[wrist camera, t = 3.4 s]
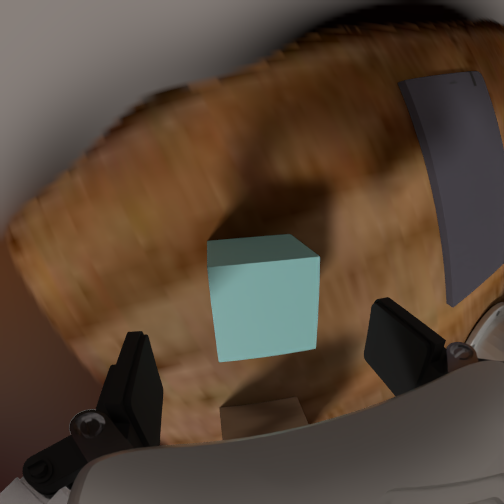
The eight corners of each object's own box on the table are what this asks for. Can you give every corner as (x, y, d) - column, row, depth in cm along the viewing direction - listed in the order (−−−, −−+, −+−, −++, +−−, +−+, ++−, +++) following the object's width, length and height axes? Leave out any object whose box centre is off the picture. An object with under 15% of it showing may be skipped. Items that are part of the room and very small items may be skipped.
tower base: (296, 395, 23) (313, 435, 19) (293, 438, 25) (306, 473, 21) (219, 406, 23) (223, 449, 18) (227, 448, 24) (232, 485, 20)
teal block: (290, 233, 19) (319, 256, 14) (290, 307, 21) (315, 348, 16) (207, 240, 19) (207, 267, 13) (215, 316, 20) (218, 362, 15)
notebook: (393, 83, 18) (443, 302, 24) (404, 79, 16) (453, 308, 23) (470, 72, 18) (504, 250, 24) (480, 70, 17) (513, 253, 23)
